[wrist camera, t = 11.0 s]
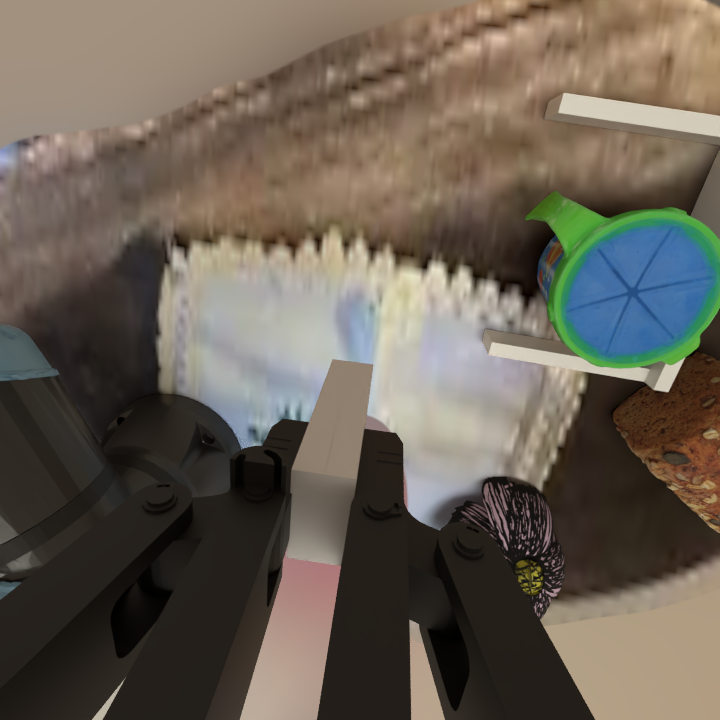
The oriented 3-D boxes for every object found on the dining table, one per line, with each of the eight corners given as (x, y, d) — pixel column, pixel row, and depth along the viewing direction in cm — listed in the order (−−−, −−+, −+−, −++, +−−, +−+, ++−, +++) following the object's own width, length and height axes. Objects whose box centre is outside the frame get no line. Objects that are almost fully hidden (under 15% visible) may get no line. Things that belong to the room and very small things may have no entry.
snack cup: (684, 298, 37) (776, 338, 28) (572, 366, 41) (620, 422, 31) (592, 144, 33) (663, 131, 24) (477, 233, 37) (500, 252, 28)
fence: (482, 340, 40) (491, 361, 36) (548, 101, 33) (571, 88, 28) (638, 367, 40) (668, 392, 35) (744, 130, 32) (800, 122, 27)
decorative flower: (638, 610, 39) (500, 701, 39) (576, 552, 50) (469, 622, 51) (546, 476, 39) (409, 567, 39) (505, 449, 50) (400, 520, 51)
